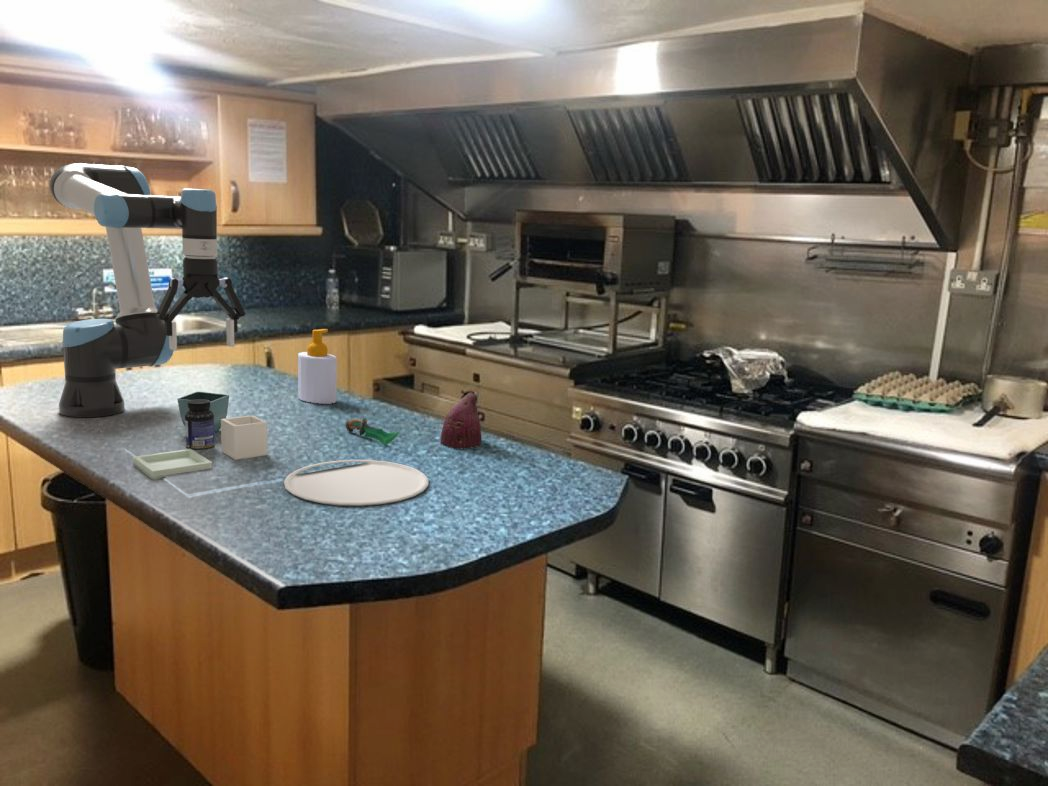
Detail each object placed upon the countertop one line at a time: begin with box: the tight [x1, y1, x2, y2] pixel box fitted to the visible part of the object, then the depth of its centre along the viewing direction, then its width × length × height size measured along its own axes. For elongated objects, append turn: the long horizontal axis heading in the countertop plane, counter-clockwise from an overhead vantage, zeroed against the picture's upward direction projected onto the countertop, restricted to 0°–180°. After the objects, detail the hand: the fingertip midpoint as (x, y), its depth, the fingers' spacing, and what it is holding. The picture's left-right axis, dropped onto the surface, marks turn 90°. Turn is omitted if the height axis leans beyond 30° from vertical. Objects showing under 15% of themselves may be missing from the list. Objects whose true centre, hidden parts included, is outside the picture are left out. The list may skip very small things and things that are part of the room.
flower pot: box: [177, 391, 230, 433], centre depth 207 cm, size 9×9×9 cm
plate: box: [283, 459, 429, 507], centre depth 176 cm, size 29×29×1 cm
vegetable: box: [440, 390, 482, 450], centre depth 209 cm, size 10×10×15 cm
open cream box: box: [220, 414, 268, 460], centre depth 190 cm, size 7×7×8 cm
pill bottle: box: [184, 399, 216, 451], centre depth 193 cm, size 6×6×11 cm
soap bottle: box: [297, 328, 338, 405], centre depth 246 cm, size 13×8×20 cm, turn 58°
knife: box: [344, 418, 401, 446], centre depth 209 cm, size 21×2×5 cm, turn 47°
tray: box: [132, 448, 213, 481], centre depth 180 cm, size 12×12×2 cm
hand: (202, 347), depth 204 cm, fingers open, 13 cm apart
